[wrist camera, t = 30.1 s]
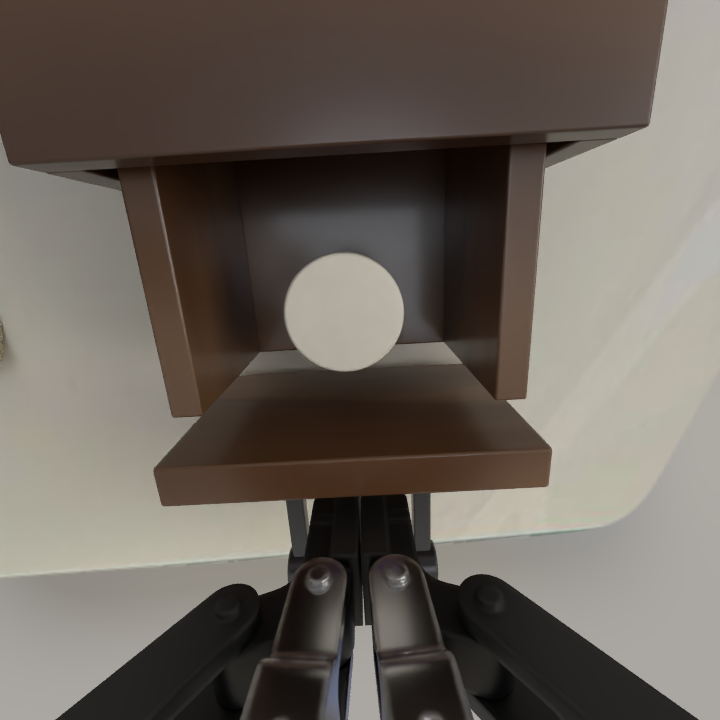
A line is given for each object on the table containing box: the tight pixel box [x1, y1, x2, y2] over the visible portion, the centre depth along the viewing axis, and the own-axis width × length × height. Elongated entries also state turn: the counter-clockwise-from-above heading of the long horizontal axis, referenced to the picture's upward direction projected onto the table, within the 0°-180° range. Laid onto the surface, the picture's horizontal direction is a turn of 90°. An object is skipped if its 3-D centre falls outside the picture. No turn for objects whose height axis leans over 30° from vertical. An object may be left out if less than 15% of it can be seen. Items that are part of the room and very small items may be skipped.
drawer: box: [117, 142, 552, 585], centre depth 13 cm, size 18×10×7 cm, turn 3°
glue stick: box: [284, 252, 404, 372], centre depth 12 cm, size 3×3×6 cm
